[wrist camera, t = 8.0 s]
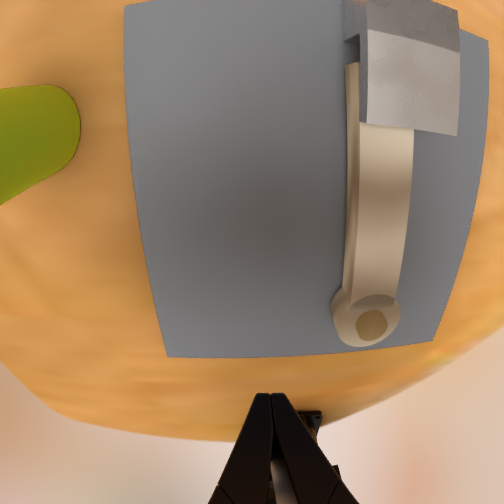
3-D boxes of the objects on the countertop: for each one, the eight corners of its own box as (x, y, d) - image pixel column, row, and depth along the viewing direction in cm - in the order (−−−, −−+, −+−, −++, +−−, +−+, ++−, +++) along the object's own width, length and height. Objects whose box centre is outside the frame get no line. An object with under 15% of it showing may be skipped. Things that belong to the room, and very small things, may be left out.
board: (429, 337, 24) (432, 340, 24) (168, 352, 24) (167, 357, 23) (483, 41, 13) (488, 40, 12) (127, 8, 12) (124, 6, 12)
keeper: (416, 124, 16) (456, 136, 12) (339, 116, 16) (366, 123, 12) (417, 21, 13) (457, 10, 9) (338, 4, 13) (364, -17, 9)
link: (384, 322, 22) (397, 348, 19) (327, 329, 22) (336, 358, 19) (404, 71, 14) (431, 69, 11) (330, 65, 14) (347, 59, 11)
